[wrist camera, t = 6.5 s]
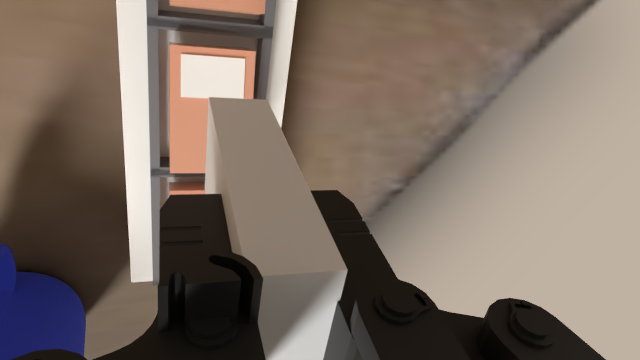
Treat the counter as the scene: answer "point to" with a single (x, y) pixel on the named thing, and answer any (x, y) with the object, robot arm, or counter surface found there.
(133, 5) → the white rack
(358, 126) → the counter surface
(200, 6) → the orange rectangular block
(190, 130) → the block
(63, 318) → the mug
